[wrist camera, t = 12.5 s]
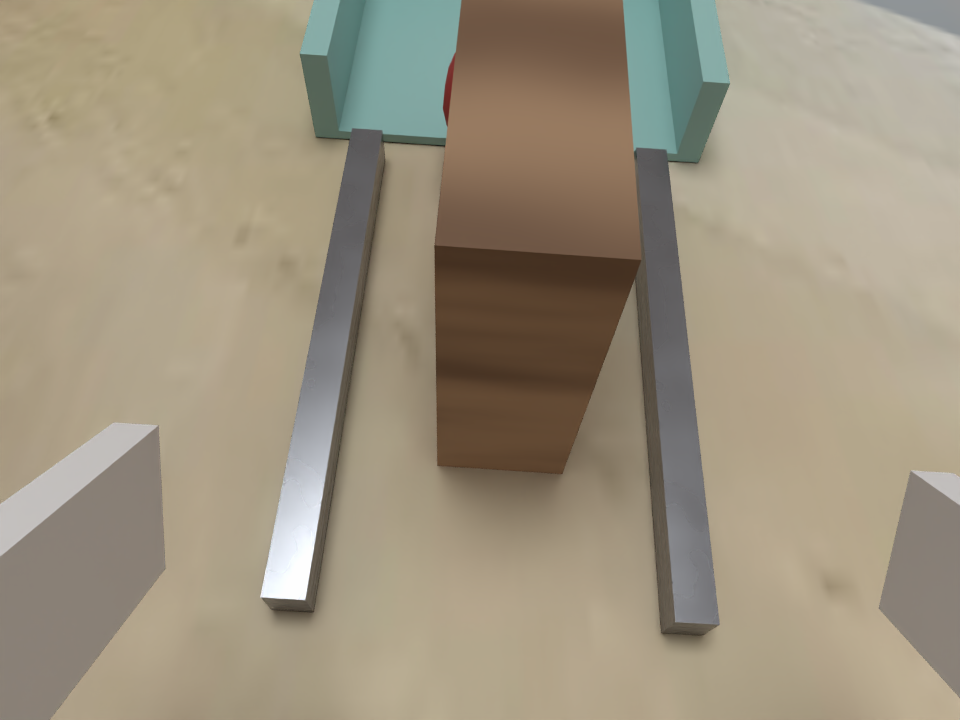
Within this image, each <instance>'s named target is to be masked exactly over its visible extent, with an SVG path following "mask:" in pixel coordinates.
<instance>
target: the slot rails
mask: <svg viewBox="0 0 960 720" xmlns="http://www.w3.org/2000/svg"><path fill="white" fill-rule="evenodd" d="M634 162H635V175H636V189H637V203H638V217H639V231H640V245H641V259H642V260H641V263H640V266H639V268H638V271H637V274H636V276H635V277H636V291H637V305H638V318H639V332H640V346H641V360H642V373H643V387H644V401H645V415H646V428H647V442H648V456H649V470H650V484H651V497H652V511H653V525H654V539H655V552H656V566H657V580H658V594H659V607H660V621H661V633H675V634H691V635H704V634H705V633H707V632H709V631H710V630H712V629H713V628H715V627H717V626H718V625H719V616H718V607H717V598H716V589H715V580H714V571H713V562H712V553H711V544H710V535H709V526H708V517H707V508H706V499H705V490H704V481H703V472H702V463H701V454H700V445H699V436H698V427H697V418H696V409H695V400H694V391H693V382H692V373H691V364H690V355H689V346H688V337H687V328H686V319H685V310H684V302H683V293H682V284H681V275H680V266H679V257H678V248H677V239H676V230H675V221H674V212H673V203H672V194H671V185H670V176H669V167H668V158H667V149H652V148H637V147H636V150H635V153H634ZM384 163H385V151H384V140H383V130H372V129H357V128H352V131H351V136H350V141H349V146H348V152H347V157H346V162H345V167H344V172H343V177H342V182H341V187H340V193H339V198H338V203H337V208H336V213H335V218H334V223H333V228H332V234H331V239H330V244H329V249H328V254H327V259H326V264H325V269H324V275H323V280H322V285H321V290H320V295H319V300H318V305H317V310H316V315H315V321H314V326H313V331H312V336H311V341H310V346H309V351H308V356H307V362H306V367H305V372H304V377H303V382H302V387H301V392H300V397H299V403H298V408H297V413H296V418H295V423H294V428H293V433H292V438H291V444H290V449H289V454H288V459H287V464H286V469H285V474H284V479H283V485H282V490H281V495H280V500H279V505H278V510H277V515H276V520H275V526H274V531H273V536H272V541H271V546H270V551H269V556H268V561H267V567H266V572H265V577H264V582H263V587H262V592H261V598H262V599H263V601H264V602H265V603H266V604H267V605H268V606H269V607H270V608H271V609H272V610H289V611H305V612H314V606H315V600H316V594H317V587H318V581H319V575H320V568H321V562H322V556H323V549H324V543H325V537H326V530H327V524H328V518H329V511H330V505H331V499H332V492H333V486H334V480H335V473H336V467H337V461H338V454H339V448H340V442H341V435H342V429H343V423H344V416H345V410H346V404H347V397H348V391H349V385H350V378H351V372H352V366H353V359H354V353H355V347H356V340H357V334H358V328H359V321H360V315H361V309H362V302H363V296H364V290H365V283H366V277H367V271H368V264H369V258H370V252H371V245H372V239H373V233H374V226H375V220H376V214H377V207H378V201H379V195H380V188H381V182H382V176H383V169H384Z"/></svg>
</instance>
